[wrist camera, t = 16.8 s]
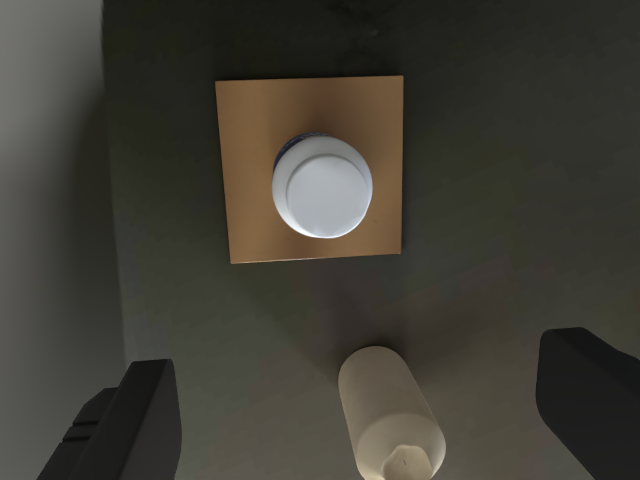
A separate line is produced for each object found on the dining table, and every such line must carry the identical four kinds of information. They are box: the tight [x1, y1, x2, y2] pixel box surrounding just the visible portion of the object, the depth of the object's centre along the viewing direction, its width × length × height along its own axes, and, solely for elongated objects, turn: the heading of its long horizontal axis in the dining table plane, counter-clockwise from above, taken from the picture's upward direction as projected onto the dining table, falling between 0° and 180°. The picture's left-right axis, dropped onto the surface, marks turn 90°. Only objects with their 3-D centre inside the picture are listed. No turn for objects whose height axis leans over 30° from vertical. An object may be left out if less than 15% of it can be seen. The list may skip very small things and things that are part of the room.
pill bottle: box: [272, 132, 372, 238], centre depth 27 cm, size 5×5×10 cm
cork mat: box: [215, 75, 403, 263], centre depth 32 cm, size 12×12×1 cm
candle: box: [338, 346, 446, 480], centre depth 32 cm, size 6×6×10 cm
